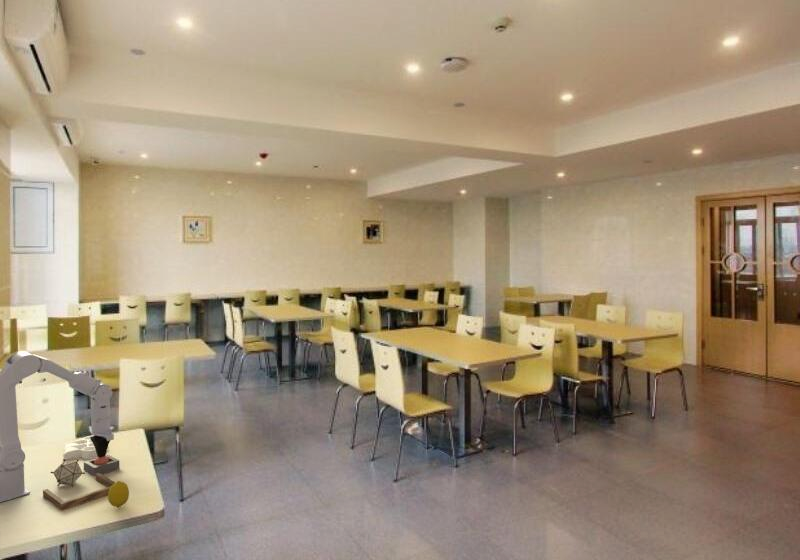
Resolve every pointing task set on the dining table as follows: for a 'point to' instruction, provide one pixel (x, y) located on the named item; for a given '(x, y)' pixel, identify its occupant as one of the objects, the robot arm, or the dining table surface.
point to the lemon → (118, 494)
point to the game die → (68, 472)
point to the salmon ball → (101, 460)
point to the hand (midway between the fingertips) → (101, 456)
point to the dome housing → (101, 466)
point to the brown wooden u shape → (81, 499)
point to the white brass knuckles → (80, 449)
